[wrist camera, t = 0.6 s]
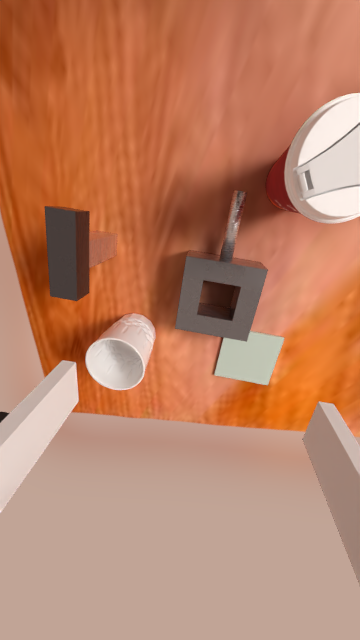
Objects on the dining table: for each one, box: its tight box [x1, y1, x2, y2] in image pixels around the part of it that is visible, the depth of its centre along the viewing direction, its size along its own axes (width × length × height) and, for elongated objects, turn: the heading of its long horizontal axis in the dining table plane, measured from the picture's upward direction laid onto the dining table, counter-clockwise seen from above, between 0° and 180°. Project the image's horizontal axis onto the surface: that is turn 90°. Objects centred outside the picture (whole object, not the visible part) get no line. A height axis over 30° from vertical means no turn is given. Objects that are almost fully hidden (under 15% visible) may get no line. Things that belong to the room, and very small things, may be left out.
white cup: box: [85, 313, 156, 390], centre depth 37 cm, size 8×8×10 cm
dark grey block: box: [45, 206, 117, 301], centre depth 31 cm, size 9×3×12 cm, turn 171°
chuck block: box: [175, 190, 268, 342], centre depth 34 cm, size 18×10×5 cm, turn 171°
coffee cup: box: [266, 93, 360, 223], centre depth 24 cm, size 8×8×15 cm
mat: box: [214, 331, 284, 385], centre depth 41 cm, size 9×9×1 cm
